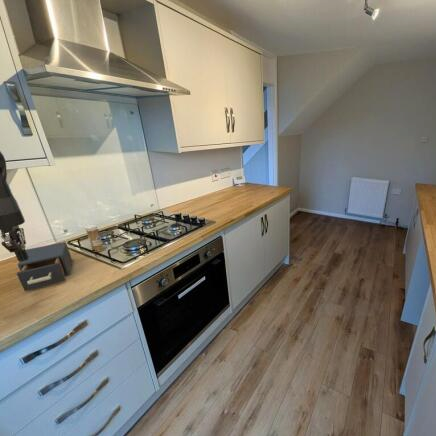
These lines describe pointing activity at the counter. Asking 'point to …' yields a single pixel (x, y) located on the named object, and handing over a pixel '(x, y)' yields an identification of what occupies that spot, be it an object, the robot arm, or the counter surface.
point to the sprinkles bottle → (94, 238)
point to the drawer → (42, 274)
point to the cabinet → (49, 255)
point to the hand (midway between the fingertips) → (24, 259)
